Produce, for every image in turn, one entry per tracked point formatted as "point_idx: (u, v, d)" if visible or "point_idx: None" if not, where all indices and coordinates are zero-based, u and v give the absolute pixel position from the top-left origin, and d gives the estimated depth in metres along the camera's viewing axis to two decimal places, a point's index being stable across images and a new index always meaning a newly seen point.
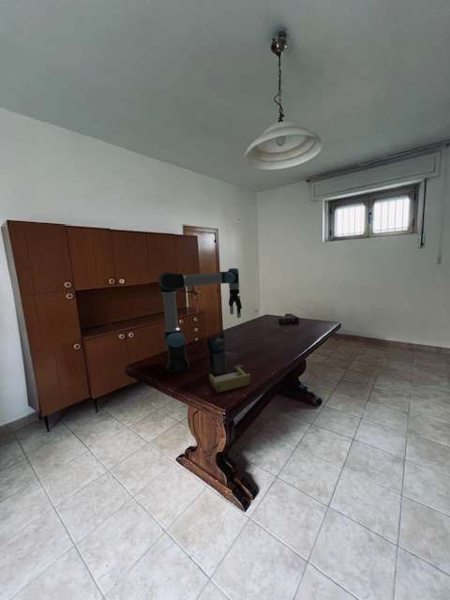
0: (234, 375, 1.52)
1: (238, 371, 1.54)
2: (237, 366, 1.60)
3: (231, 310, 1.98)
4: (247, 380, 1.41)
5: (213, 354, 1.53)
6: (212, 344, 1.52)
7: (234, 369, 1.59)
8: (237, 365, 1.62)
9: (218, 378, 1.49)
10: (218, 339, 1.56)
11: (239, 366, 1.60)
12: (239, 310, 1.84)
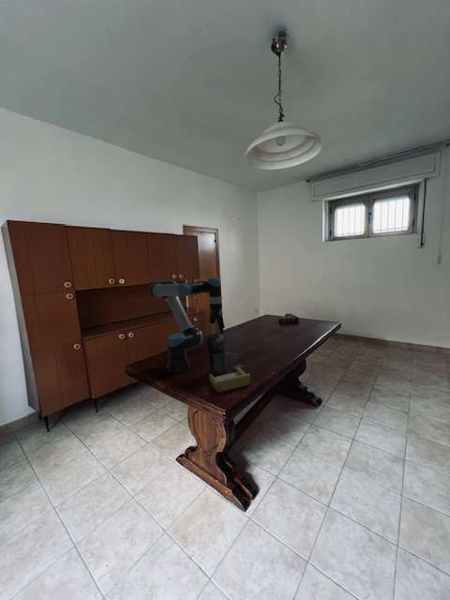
0: (234, 375, 1.52)
1: (238, 371, 1.54)
2: (237, 366, 1.60)
3: (212, 329, 1.62)
4: (247, 380, 1.41)
5: (213, 354, 1.53)
6: (212, 344, 1.52)
7: (234, 369, 1.59)
8: (237, 365, 1.62)
9: (218, 378, 1.49)
10: (218, 339, 1.56)
11: (239, 366, 1.60)
12: None
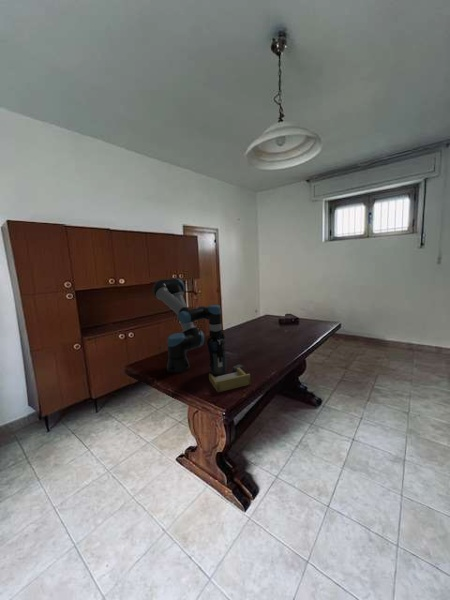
0: (234, 375, 1.52)
1: (238, 371, 1.54)
2: (237, 366, 1.60)
3: None
4: (247, 380, 1.41)
5: (213, 354, 1.53)
6: (212, 344, 1.52)
7: (234, 369, 1.59)
8: (237, 365, 1.62)
9: (218, 378, 1.49)
10: None
11: (239, 366, 1.60)
12: None
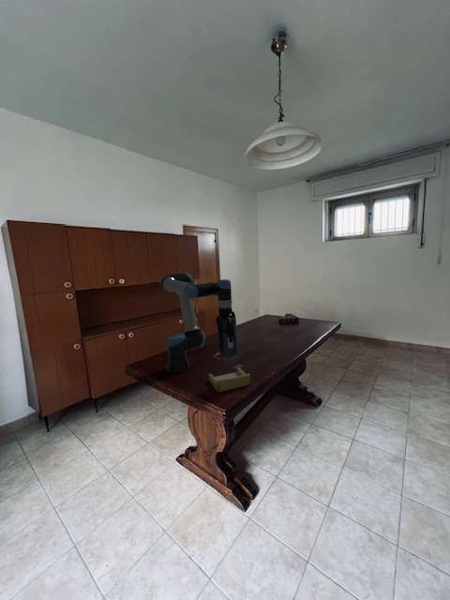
0: (234, 375, 1.52)
1: (238, 371, 1.54)
2: (237, 366, 1.60)
3: None
4: (247, 380, 1.41)
5: (223, 334, 1.38)
6: (222, 322, 1.37)
7: (234, 369, 1.59)
8: (237, 365, 1.62)
9: (218, 378, 1.49)
10: None
11: (239, 366, 1.60)
12: (231, 338, 1.36)
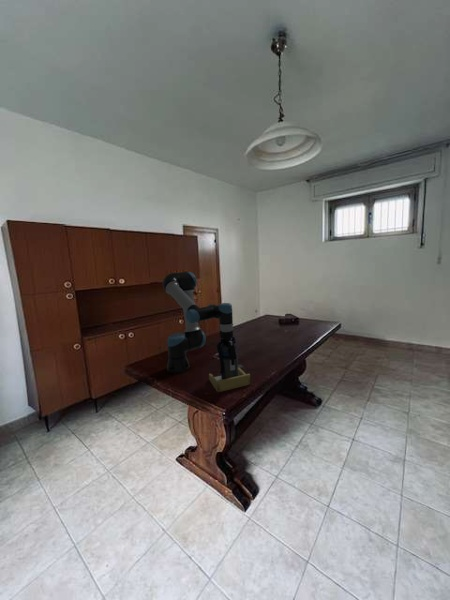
0: None
1: (238, 371, 1.54)
2: None
3: None
4: (247, 380, 1.41)
5: (224, 360, 1.40)
6: (223, 349, 1.40)
7: None
8: (238, 365, 1.62)
9: (218, 378, 1.49)
10: None
11: (239, 366, 1.60)
12: None
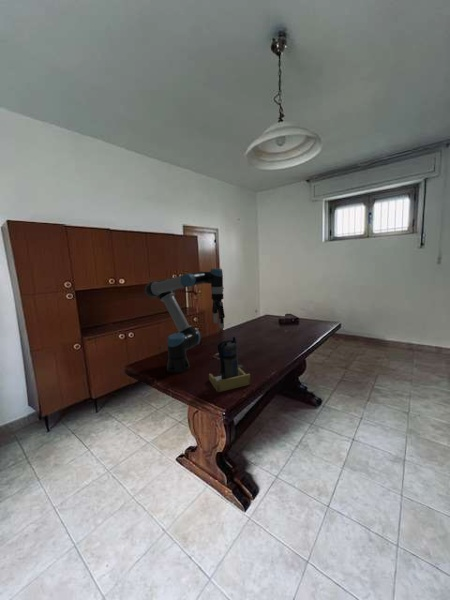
0: None
1: (238, 371, 1.54)
2: None
3: (214, 319, 1.66)
4: (247, 380, 1.41)
5: (224, 360, 1.40)
6: (223, 349, 1.40)
7: None
8: (238, 365, 1.62)
9: (218, 378, 1.49)
10: (229, 343, 1.43)
11: (239, 366, 1.60)
12: (222, 319, 1.52)
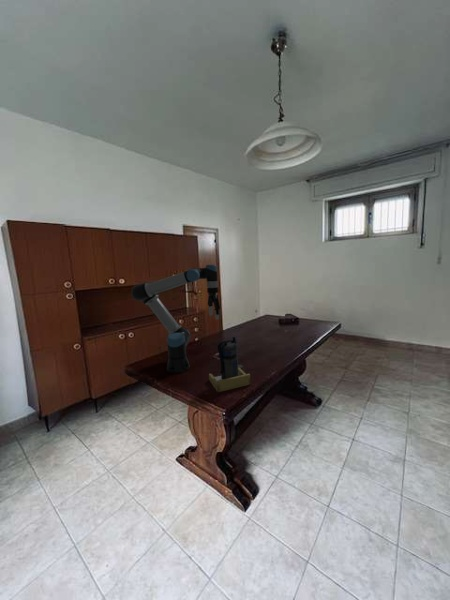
0: None
1: (238, 371, 1.54)
2: None
3: (210, 311, 1.80)
4: (247, 380, 1.41)
5: (224, 360, 1.40)
6: (223, 349, 1.40)
7: None
8: (238, 365, 1.62)
9: (218, 378, 1.49)
10: (229, 343, 1.43)
11: (239, 366, 1.60)
12: (217, 311, 1.66)
